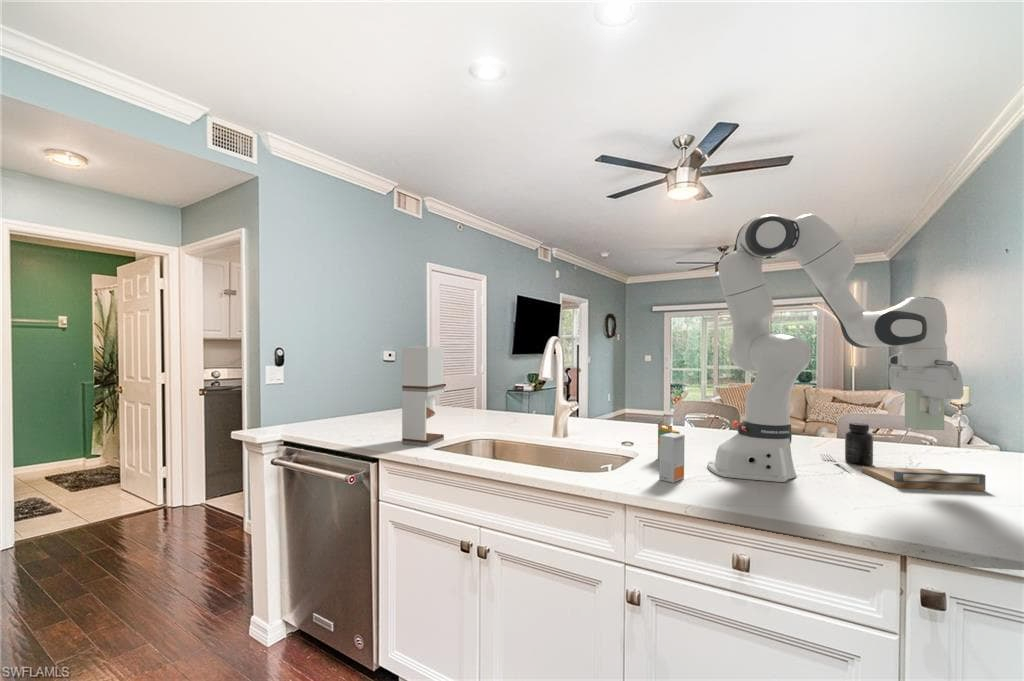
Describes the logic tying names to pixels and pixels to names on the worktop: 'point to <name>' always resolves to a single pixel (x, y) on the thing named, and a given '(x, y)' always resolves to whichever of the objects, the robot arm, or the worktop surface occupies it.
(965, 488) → the shelf board
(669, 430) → the crayon box
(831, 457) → the fork
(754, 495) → the worktop surface
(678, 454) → the skincare box
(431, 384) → the coffee grinder
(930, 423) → the carton
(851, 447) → the supplement bottle
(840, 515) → the worktop surface
